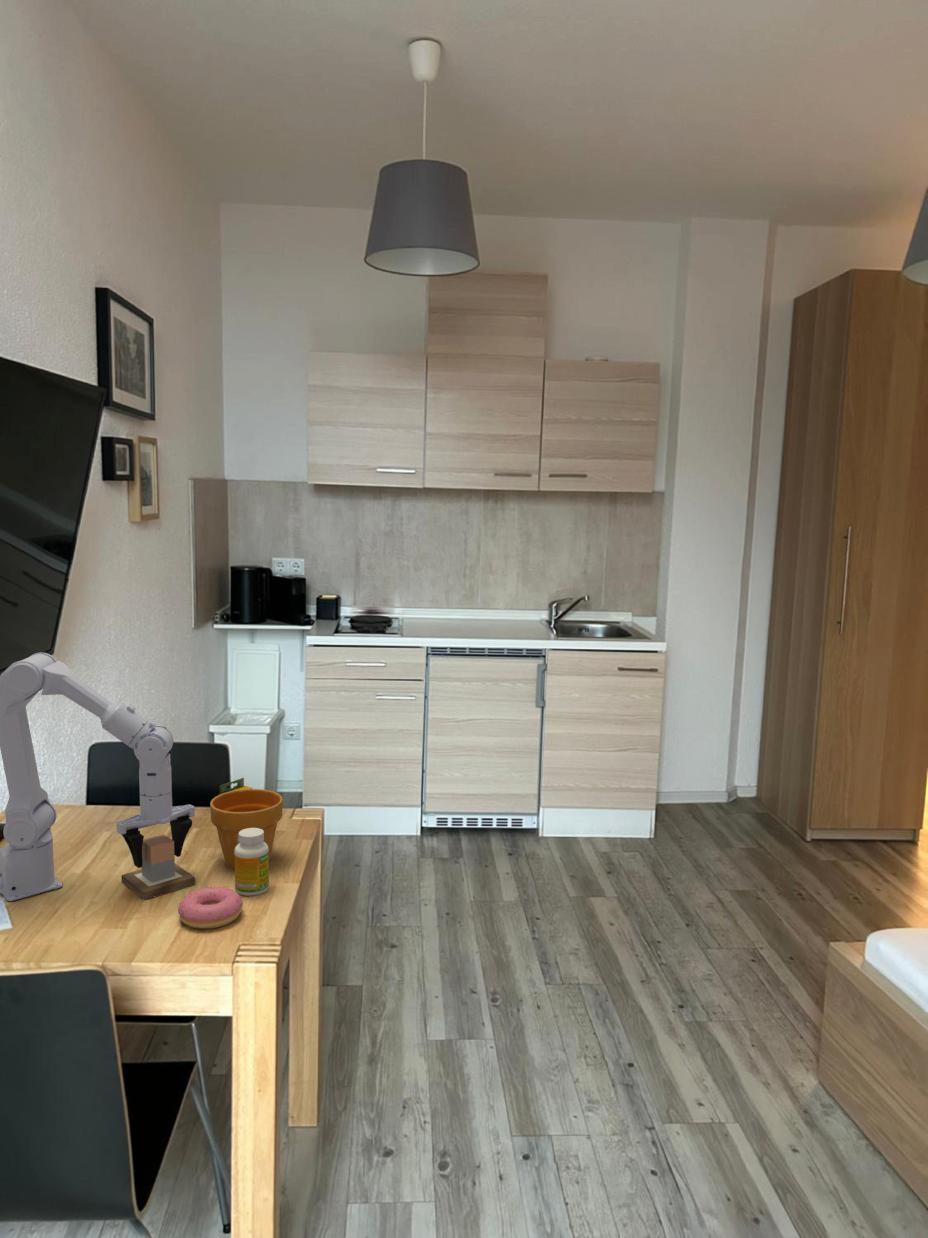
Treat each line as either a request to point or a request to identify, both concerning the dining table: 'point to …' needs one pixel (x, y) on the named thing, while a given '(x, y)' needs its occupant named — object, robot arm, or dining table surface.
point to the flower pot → (245, 817)
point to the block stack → (158, 858)
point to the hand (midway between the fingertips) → (157, 860)
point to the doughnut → (210, 907)
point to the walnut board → (157, 883)
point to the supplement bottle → (251, 863)
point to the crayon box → (238, 787)
